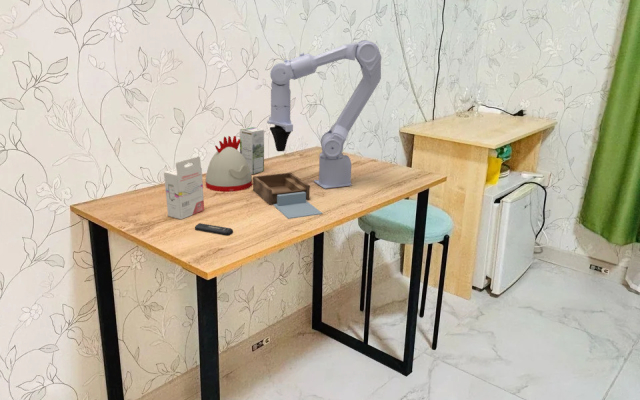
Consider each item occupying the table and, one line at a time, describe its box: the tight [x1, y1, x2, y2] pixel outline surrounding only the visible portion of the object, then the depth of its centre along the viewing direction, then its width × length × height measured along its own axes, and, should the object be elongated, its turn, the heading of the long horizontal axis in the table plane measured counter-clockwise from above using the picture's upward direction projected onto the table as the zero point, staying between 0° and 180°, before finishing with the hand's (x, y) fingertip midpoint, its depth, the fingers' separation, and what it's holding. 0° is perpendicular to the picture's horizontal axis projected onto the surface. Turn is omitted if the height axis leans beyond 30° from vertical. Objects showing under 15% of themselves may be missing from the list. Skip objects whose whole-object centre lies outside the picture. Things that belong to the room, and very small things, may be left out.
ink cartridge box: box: [163, 155, 205, 220], centre depth 132 cm, size 9×5×15 cm, turn 148°
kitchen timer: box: [205, 135, 253, 193], centre depth 156 cm, size 14×14×15 cm
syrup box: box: [239, 126, 265, 176], centre depth 170 cm, size 6×6×14 cm
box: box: [252, 172, 311, 206], centre depth 149 cm, size 14×12×4 cm
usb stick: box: [194, 222, 234, 236], centre depth 123 cm, size 10×3×2 cm, turn 69°
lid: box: [273, 192, 323, 220], centre depth 138 cm, size 11×10×4 cm
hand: (280, 150), depth 156 cm, fingers closed
